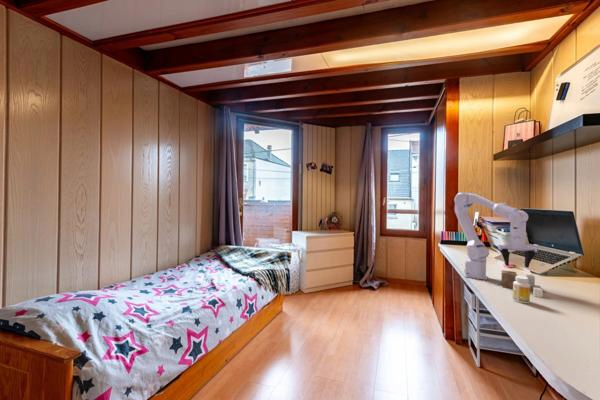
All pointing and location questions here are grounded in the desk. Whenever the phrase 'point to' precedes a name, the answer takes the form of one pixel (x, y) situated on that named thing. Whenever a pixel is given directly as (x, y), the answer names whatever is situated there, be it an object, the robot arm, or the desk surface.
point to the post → (532, 282)
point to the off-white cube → (537, 292)
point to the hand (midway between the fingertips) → (516, 266)
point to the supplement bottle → (521, 290)
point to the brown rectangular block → (508, 279)
